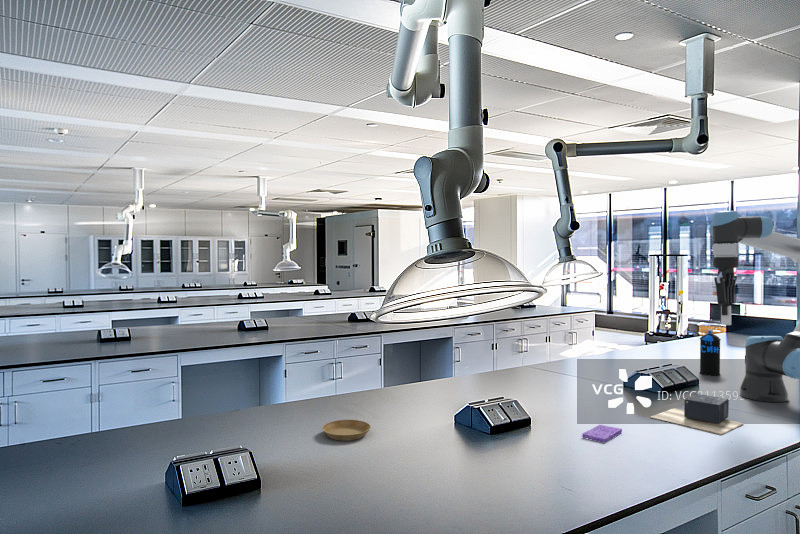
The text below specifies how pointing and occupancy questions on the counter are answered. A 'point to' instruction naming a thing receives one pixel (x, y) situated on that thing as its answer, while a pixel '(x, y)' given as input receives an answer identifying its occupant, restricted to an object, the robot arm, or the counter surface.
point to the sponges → (602, 433)
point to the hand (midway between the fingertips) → (726, 324)
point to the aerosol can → (710, 354)
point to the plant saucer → (346, 429)
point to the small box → (706, 408)
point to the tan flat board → (696, 422)
